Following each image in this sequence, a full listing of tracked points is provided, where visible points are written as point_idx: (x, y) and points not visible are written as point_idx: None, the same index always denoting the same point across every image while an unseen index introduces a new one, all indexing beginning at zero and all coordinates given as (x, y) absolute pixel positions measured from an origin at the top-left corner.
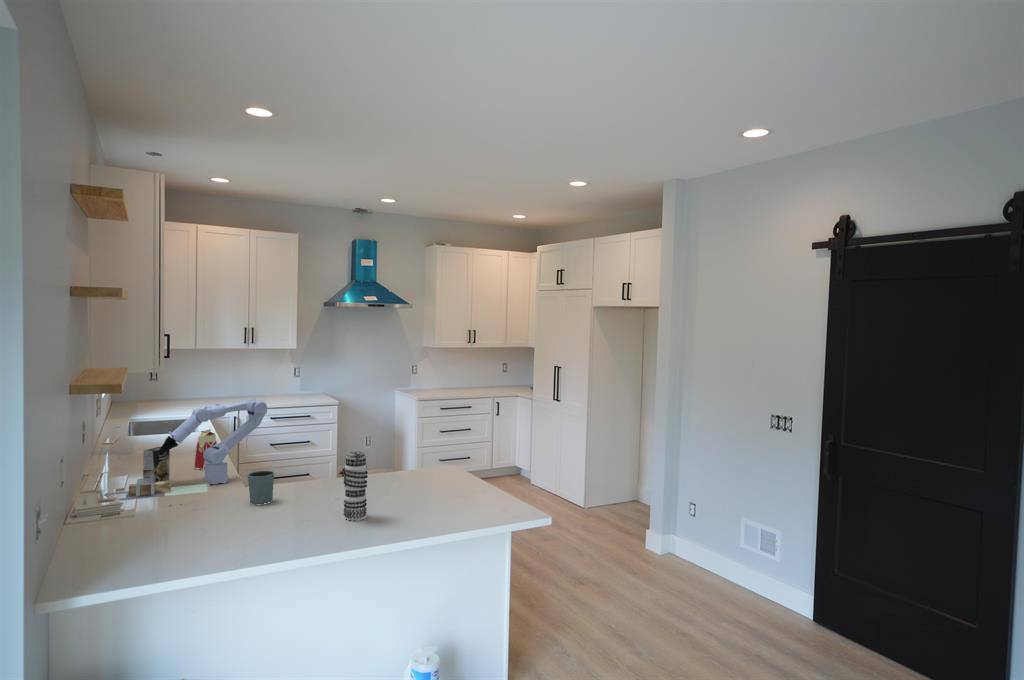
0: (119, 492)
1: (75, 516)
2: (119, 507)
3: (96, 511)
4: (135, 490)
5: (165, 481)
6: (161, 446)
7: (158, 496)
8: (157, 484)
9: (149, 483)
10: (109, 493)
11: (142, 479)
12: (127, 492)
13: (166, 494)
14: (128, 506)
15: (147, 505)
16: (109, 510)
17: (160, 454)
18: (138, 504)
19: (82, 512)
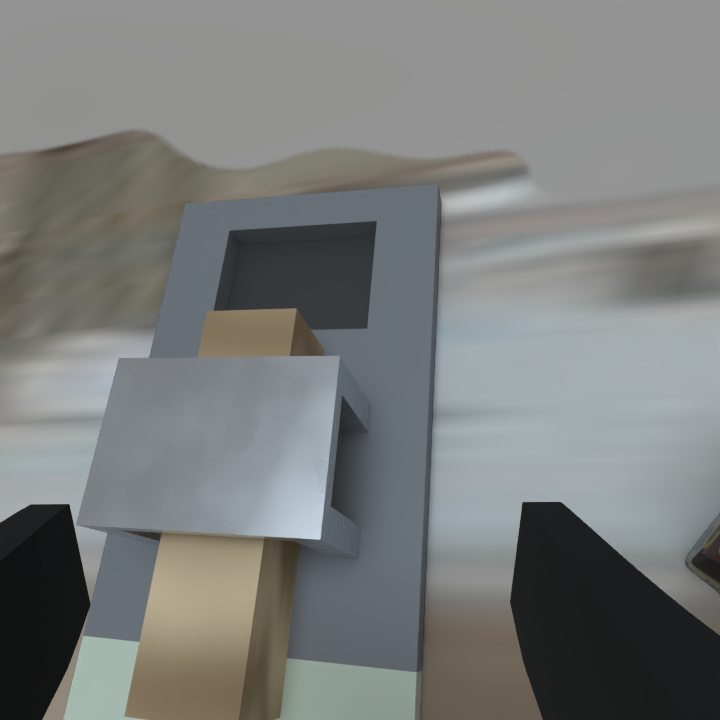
0: (417, 272)
1: (63, 145)
2: (95, 325)
3: (91, 218)
4: None
5: (232, 661)
6: (609, 613)
7: (98, 579)
8: (157, 564)
9: (92, 477)
10: (420, 211)
11: (281, 402)
12: (385, 329)
13: (124, 656)
14: (82, 375)
15: (22, 497)
16: (65, 279)
17: (511, 593)
18: (90, 435)
19: (119, 158)
